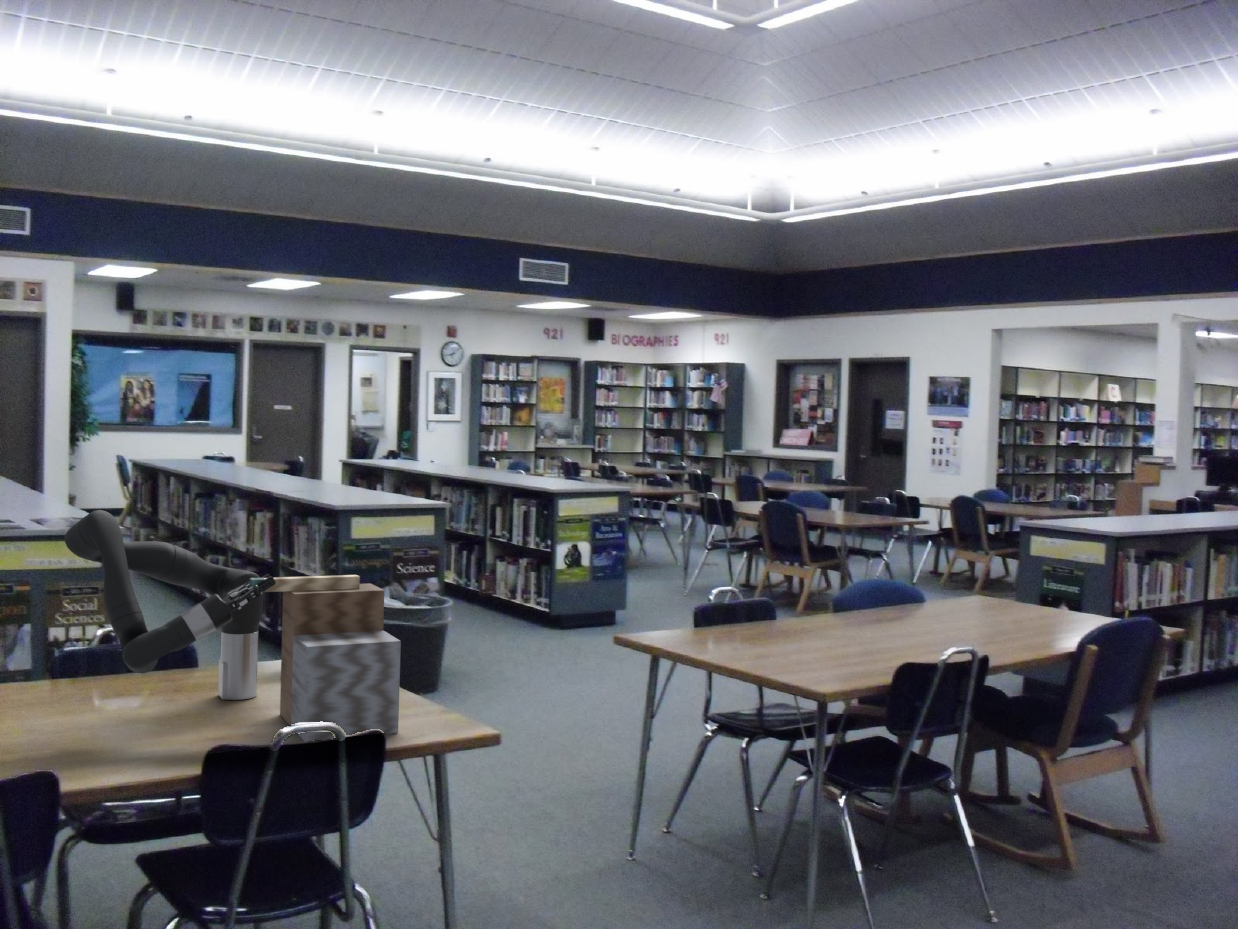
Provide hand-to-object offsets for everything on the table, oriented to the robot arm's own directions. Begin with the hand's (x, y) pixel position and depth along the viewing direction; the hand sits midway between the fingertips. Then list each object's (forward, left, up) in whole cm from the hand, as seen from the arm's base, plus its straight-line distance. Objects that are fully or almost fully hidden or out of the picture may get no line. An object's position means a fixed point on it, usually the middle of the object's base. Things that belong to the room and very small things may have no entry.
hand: (272, 578), depth 277 cm
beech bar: (+8, 0, -3) cm, 9 cm away
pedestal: (+15, -7, -35) cm, 39 cm away
